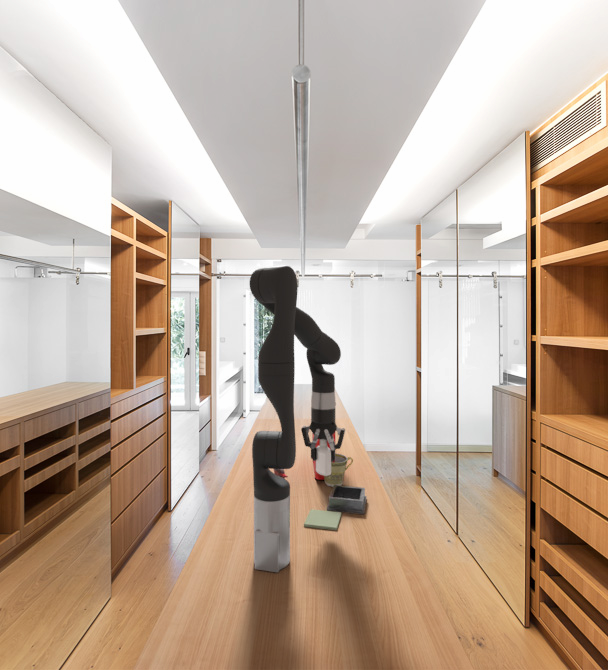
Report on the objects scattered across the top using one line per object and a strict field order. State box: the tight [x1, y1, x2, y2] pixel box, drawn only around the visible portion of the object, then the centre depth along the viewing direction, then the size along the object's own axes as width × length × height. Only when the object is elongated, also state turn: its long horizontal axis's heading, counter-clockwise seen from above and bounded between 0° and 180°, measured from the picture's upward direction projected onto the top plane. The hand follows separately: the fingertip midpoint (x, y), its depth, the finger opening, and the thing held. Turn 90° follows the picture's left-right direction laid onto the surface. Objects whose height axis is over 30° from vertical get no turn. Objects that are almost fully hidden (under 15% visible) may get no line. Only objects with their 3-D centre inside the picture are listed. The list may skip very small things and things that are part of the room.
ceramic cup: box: [324, 452, 354, 488], centre depth 151 cm, size 13×10×10 cm
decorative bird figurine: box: [273, 469, 289, 479], centre depth 150 cm, size 3×18×10 cm, turn 21°
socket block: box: [326, 485, 368, 515], centre depth 133 cm, size 12×12×4 cm
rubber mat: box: [303, 508, 342, 531], centre depth 122 cm, size 10×10×1 cm
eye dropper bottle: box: [316, 439, 331, 476], centre depth 122 cm, size 4×6×12 cm
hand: (323, 460), depth 121 cm, fingers closed on eye dropper bottle, 4 cm apart
